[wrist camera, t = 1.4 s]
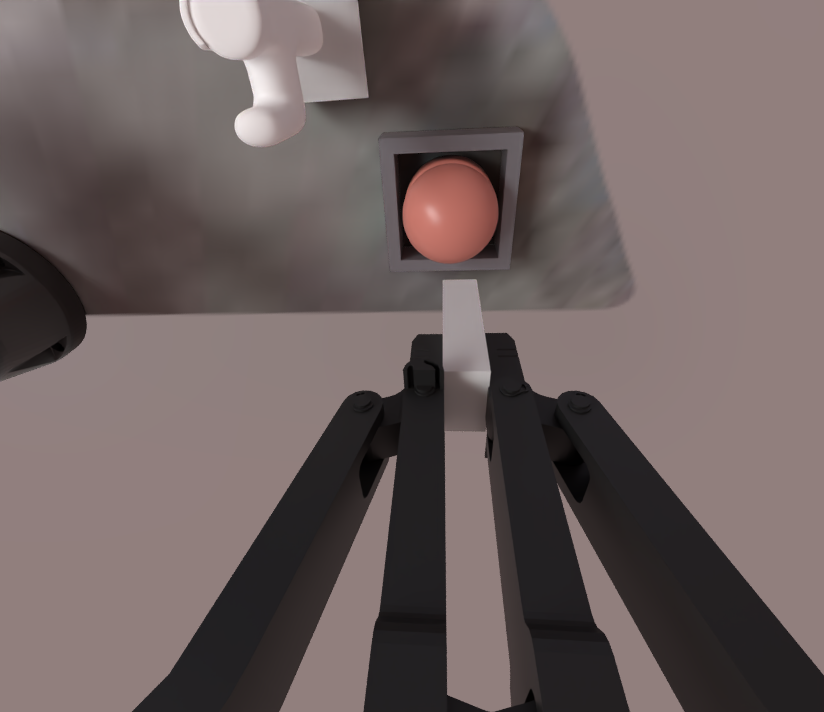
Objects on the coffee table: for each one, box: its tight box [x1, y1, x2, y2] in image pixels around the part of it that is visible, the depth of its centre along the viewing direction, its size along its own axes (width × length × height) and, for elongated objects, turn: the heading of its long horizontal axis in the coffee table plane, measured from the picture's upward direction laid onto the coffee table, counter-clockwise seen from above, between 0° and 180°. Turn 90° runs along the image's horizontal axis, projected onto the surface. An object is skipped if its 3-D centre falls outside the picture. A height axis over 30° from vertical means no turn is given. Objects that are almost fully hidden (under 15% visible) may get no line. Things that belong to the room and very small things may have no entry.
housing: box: [378, 126, 524, 272], centre depth 31 cm, size 10×10×3 cm
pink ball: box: [403, 155, 498, 264], centre depth 29 cm, size 7×7×7 cm
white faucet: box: [179, 0, 369, 147], centre depth 21 cm, size 7×9×15 cm
